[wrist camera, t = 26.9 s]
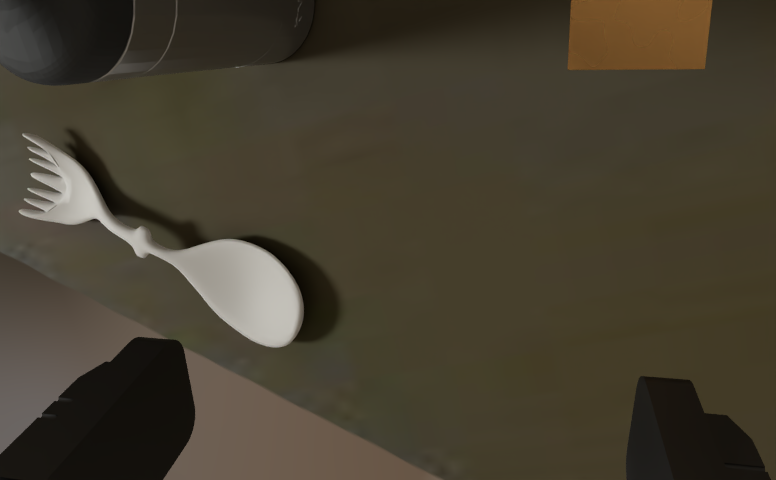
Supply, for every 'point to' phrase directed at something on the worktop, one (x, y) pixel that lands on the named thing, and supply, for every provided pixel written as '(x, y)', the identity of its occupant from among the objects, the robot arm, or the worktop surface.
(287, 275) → the spoon
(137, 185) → the worktop surface
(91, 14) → the robot arm
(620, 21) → the wooden block
